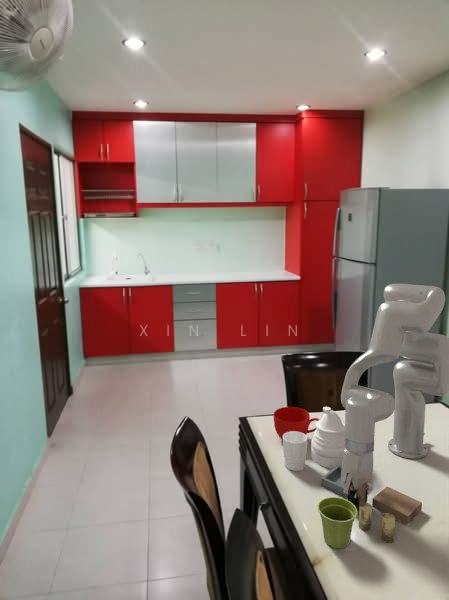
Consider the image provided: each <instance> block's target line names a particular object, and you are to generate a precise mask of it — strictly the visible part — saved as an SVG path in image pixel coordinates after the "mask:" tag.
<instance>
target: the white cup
mask: <svg viewBox="0 0 449 600" xmlns="http://www.w3.org/2000/svg"><path fill="white" fill-rule="evenodd" d="M282 447H283V448H282V451H283V459H284V466H285V468H286V469H287V470H290V471H293V472H295V471H296V472H300V471H302V470H304V469H305V468H306V462H307V460H306V459H307V451H308V450H307V449H308V436H307V434H306V435H305V434H304V433H301V432H297V431H290V432H286V433H285V434H284V435H283V440H282Z"/></svg>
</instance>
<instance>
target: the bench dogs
mask: <svg viewBox="0 0 449 600" xmlns="http://www.w3.org/2000/svg"><path fill="white" fill-rule="evenodd" d="M372 510H373V507H372V504H370V502H369V503H368V502H366V503H365V502H363V503H360V505H359V513H358V515H359V516H358V528H359V530H361V531H363V532H369V531H371V530H372V515H373V513H372V512H373V511H372ZM395 528H396V519H395V516H394V515H392V514H390V513H382V515H381V535H380V536H381V540H382V541H383V542H384V543H387V544H392V543H394V542H395Z"/></svg>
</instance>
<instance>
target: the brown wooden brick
mask: <svg viewBox="0 0 449 600" xmlns="http://www.w3.org/2000/svg"><path fill="white" fill-rule="evenodd" d="M371 501H372V502H371V503H372V504H371V506H372V509H375V510H378V511H380V512H381V513H382V514H384V513H390V514H392V515H394V516H395V520H397V521H398V522H401V523H403V524H404V525H407V526H408V525H410V523H412V521H413V520H414V519H416V517H418V515H419V514H421V512H422V510H423V509H422V508H423V507H422V506H423V503H422V501H419V500H417V499H415V498H413V497H411V496H409V495H408V494H407V495H406V494H405V493H402V492H400V491H399V490H396V489H395V488H392V487H389V486H388V485H386V486H385V487H384V488H383V489H382V490H381V491H380V492H378V493H377V494H376V495H374V497H372V500H371Z"/></svg>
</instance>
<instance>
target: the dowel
mask: <svg viewBox="0 0 449 600" xmlns="http://www.w3.org/2000/svg"><path fill="white" fill-rule="evenodd" d="M365 489H367V488H366V482H365V483H364V484H363V485H362V486H361V487H360V488H359V492H358V497H359V505H360V503H363V502H365ZM351 490H352V491H354V492H355V489H354V488H352V487H351ZM357 514H359V510H358V511H357Z"/></svg>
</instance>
